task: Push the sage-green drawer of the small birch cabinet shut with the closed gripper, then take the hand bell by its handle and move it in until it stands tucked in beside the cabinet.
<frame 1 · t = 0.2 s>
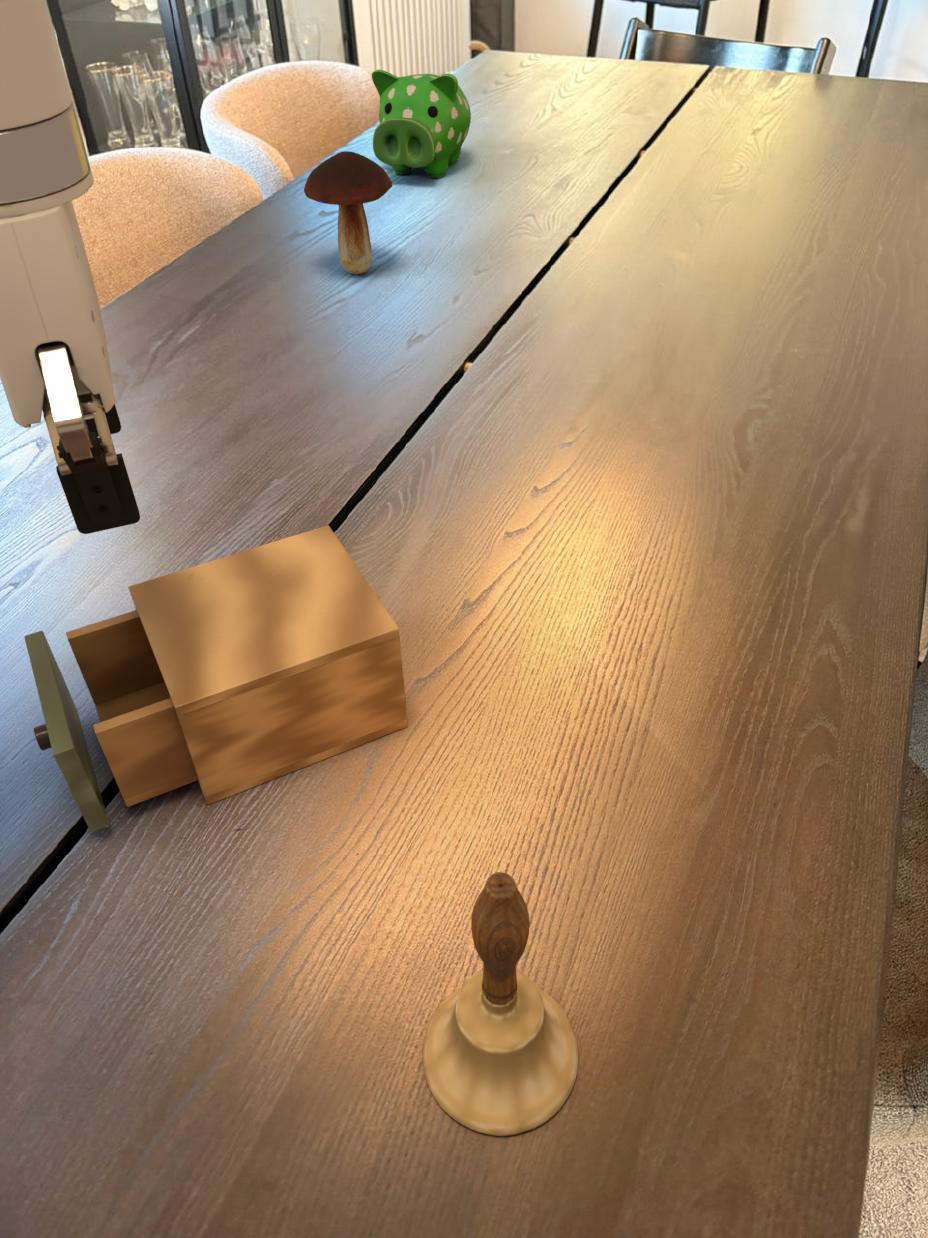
hand: (102, 477, 54), 21 cm above the table, tool pointing down, fingers open, 9 cm apart
decorative mushroom: (357, 273, 127), on the table
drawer: (151, 699, 64), point 5 cm above the table, slide at 6.0 cm
cabinet: (281, 704, 70), on the table
piggy bank: (425, 170, 157), on the table
hand bell: (500, 1055, 51), on the table
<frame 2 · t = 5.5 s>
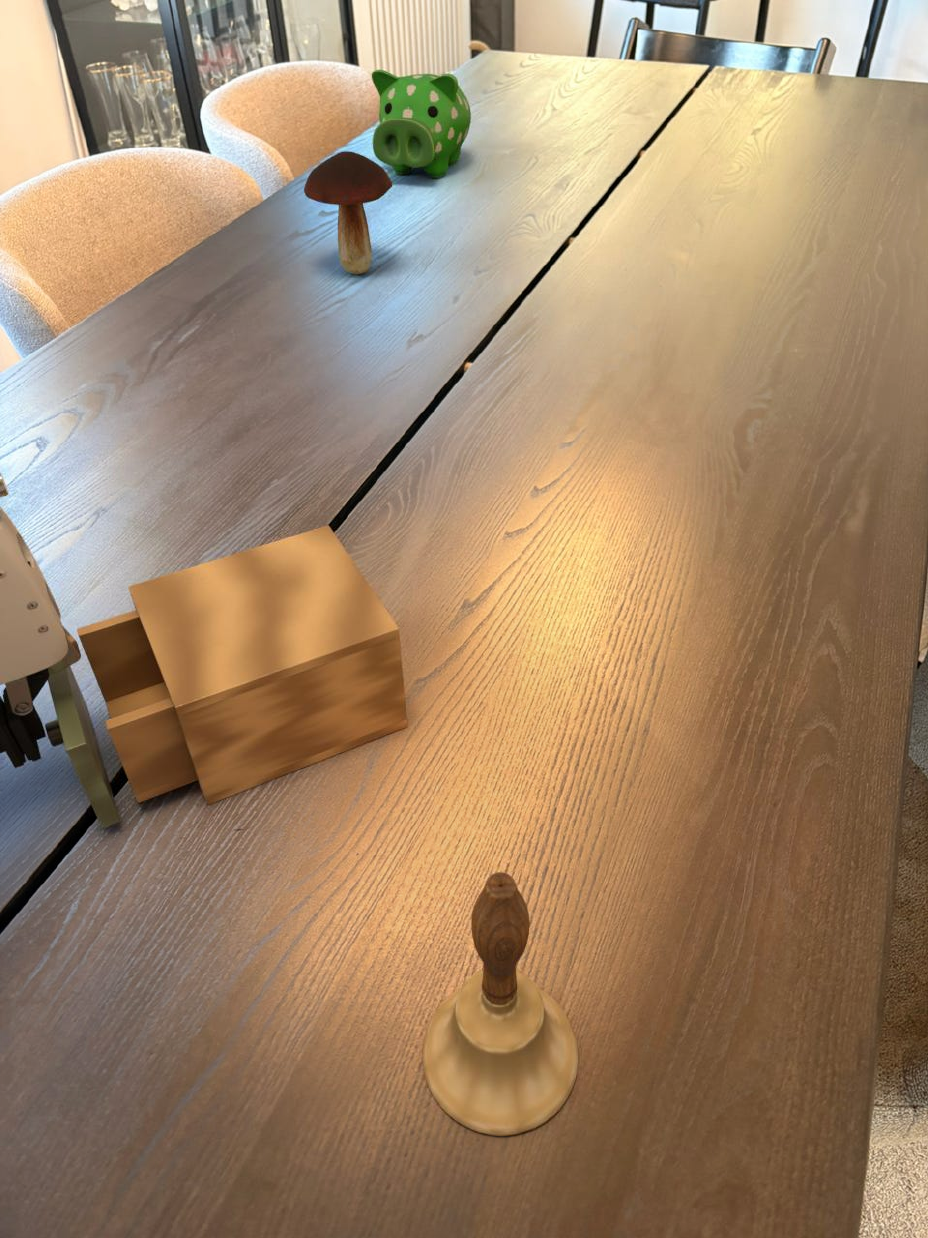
hand: (25, 748, 61), 4 cm above the table, tool pointing down, fingers closed
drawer: (162, 696, 64), point 5 cm above the table, slide at 5.3 cm, touching gripper
everything else where it was.
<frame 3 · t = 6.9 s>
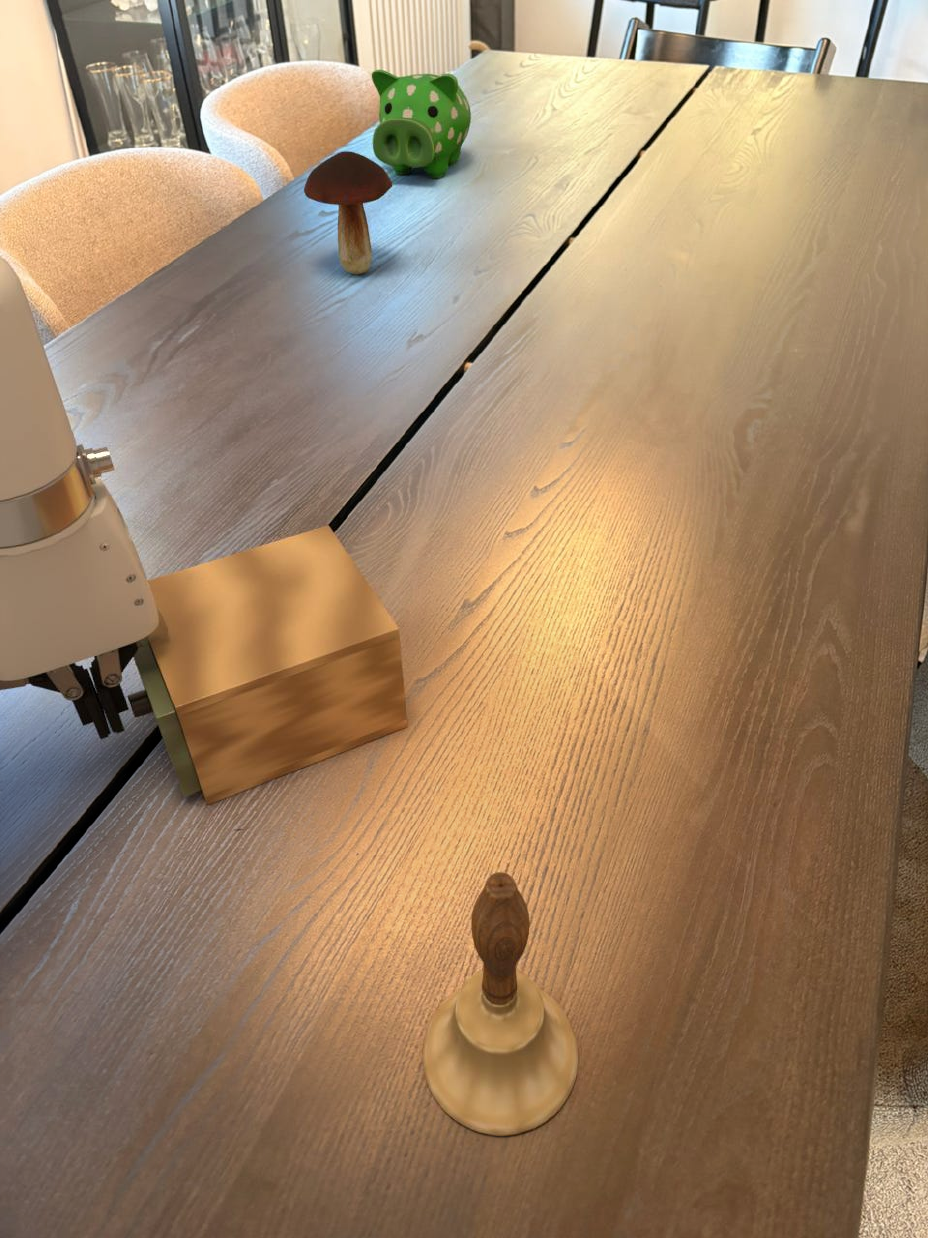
hand: (108, 720, 63), 4 cm above the table, tool pointing down, fingers closed
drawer: (238, 669, 66), point 5 cm above the table, slide at 0.0 cm, touching cabinet, gripper
everything else where it was.
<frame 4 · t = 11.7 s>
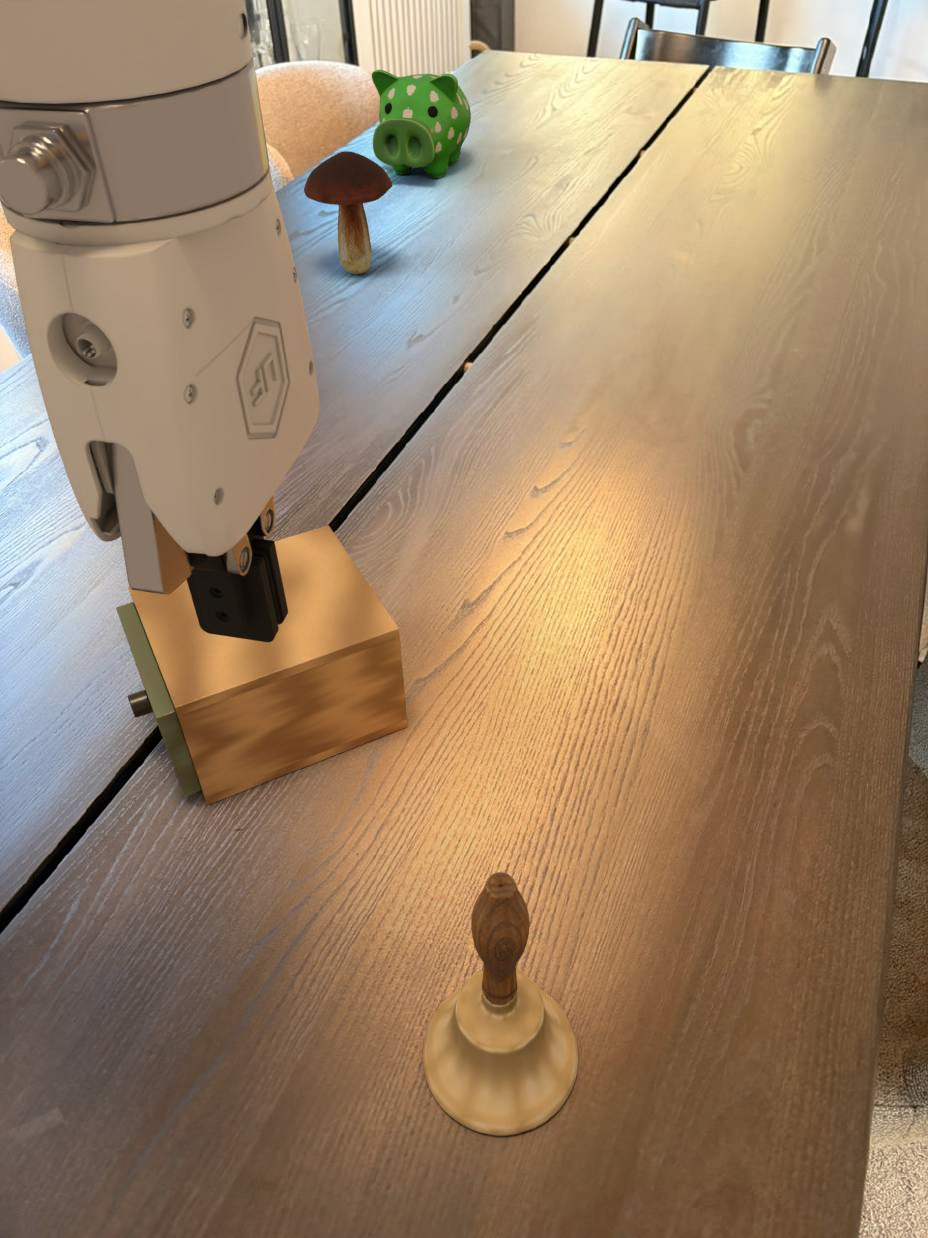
hand: (245, 624, 39), 25 cm above the table, tool pointing down, fingers closed
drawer: (238, 669, 66), point 5 cm above the table, slide at 0.0 cm, touching cabinet
everything else where it was.
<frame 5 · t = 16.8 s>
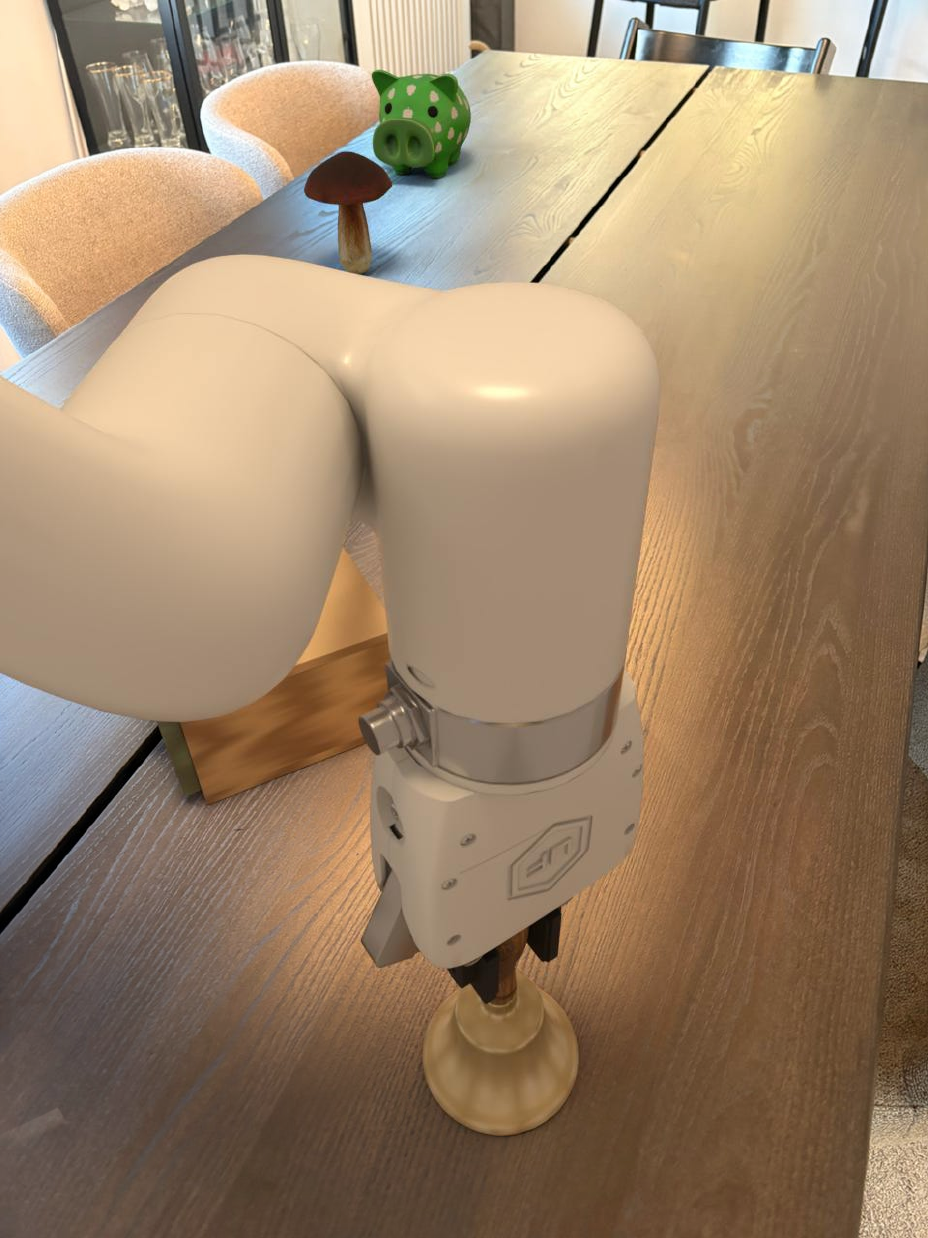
hand: (502, 954, 44), 11 cm above the table, tool pointing down, fingers closed on hand bell, 2 cm apart
hand bell: (500, 1054, 51), on the table, touching gripper
everything else where it was.
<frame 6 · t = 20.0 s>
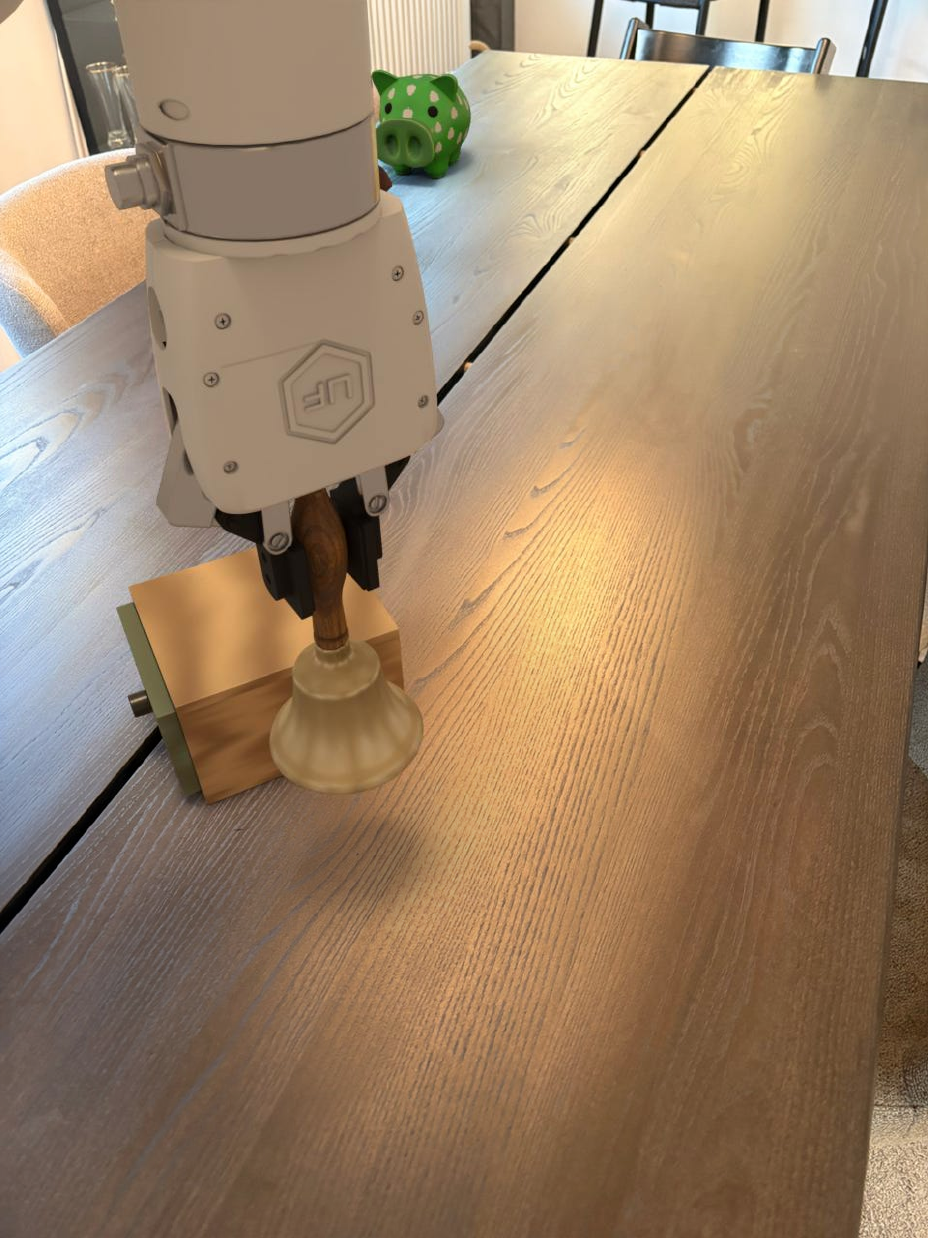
hand: (326, 585, 44), 23 cm above the table, tool pointing down, fingers closed on hand bell, 2 cm apart
hand bell: (347, 736, 52), point 12 cm above the table, touching gripper
everything else where it was.
when the fingers open (11 cm above the table, at t = 23.3 s): hand bell stays where it is, on the table.
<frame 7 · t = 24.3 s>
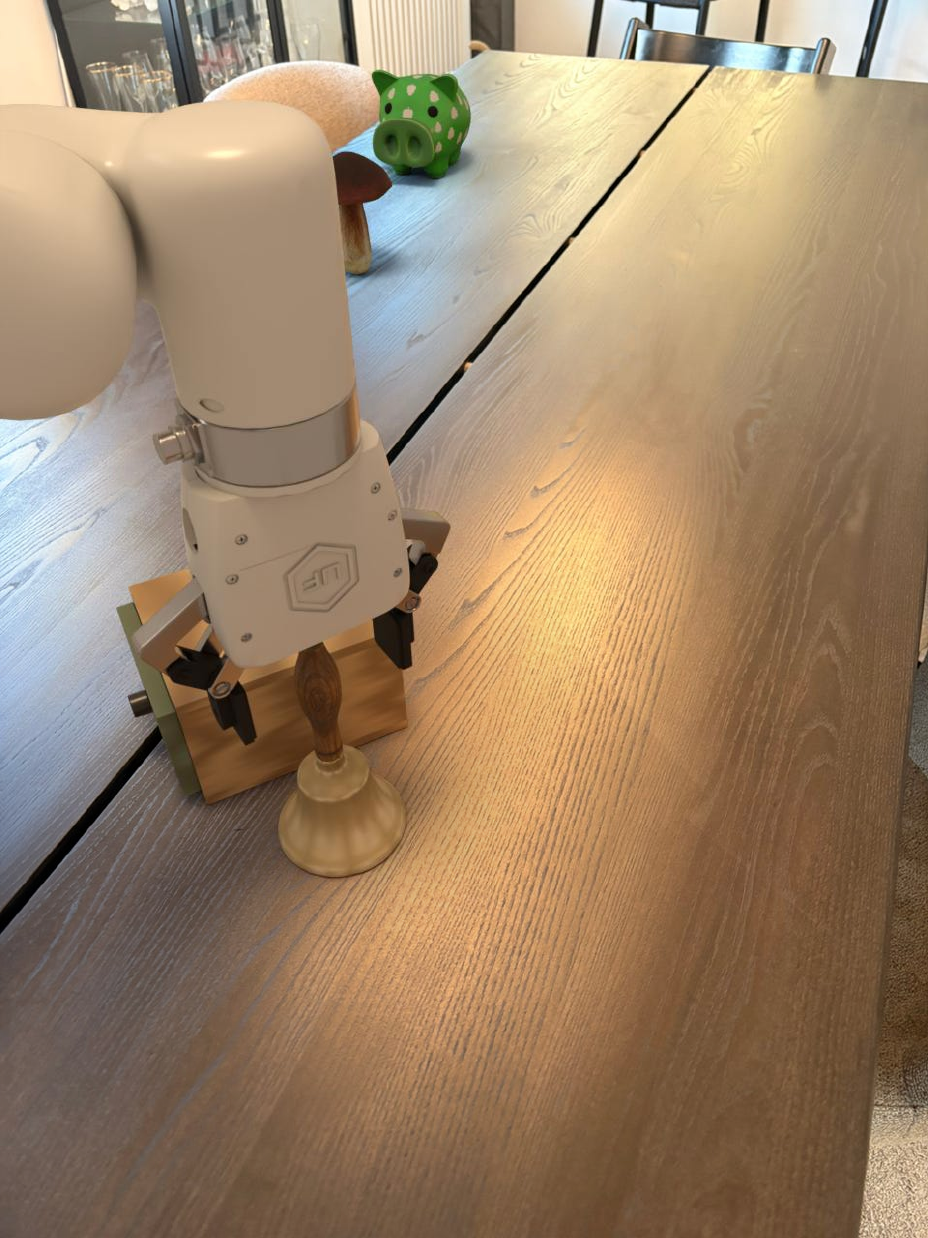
hand: (319, 689, 53), 13 cm above the table, tool pointing down, fingers open, 9 cm apart
hand bell: (342, 824, 62), on the table
everything else where it was.
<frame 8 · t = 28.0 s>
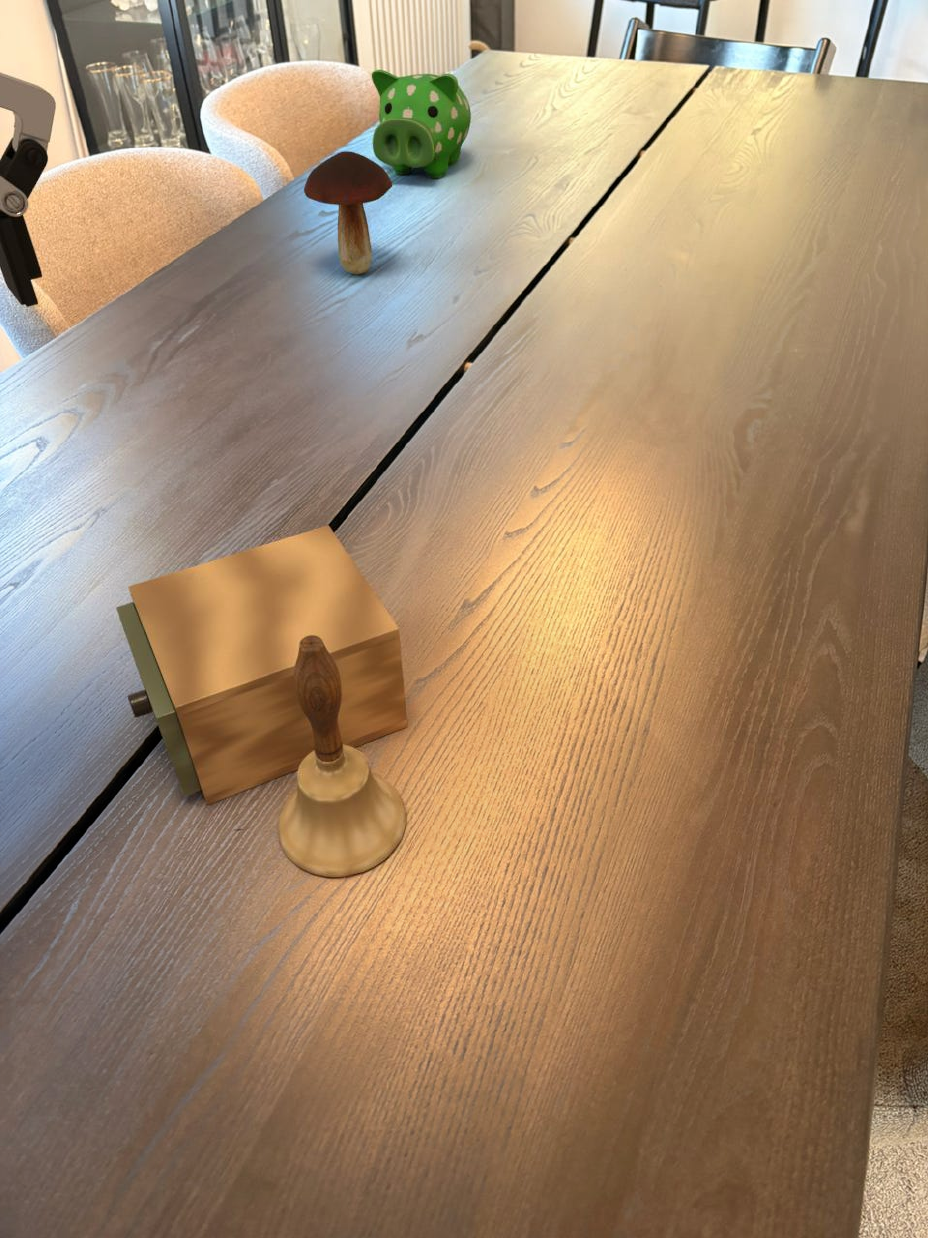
nothing on the table moved.
at the end: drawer slide at 0.0 cm; hand bell 11.8 cm from the cabinet (horizontally); hand bell tilted 0° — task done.
